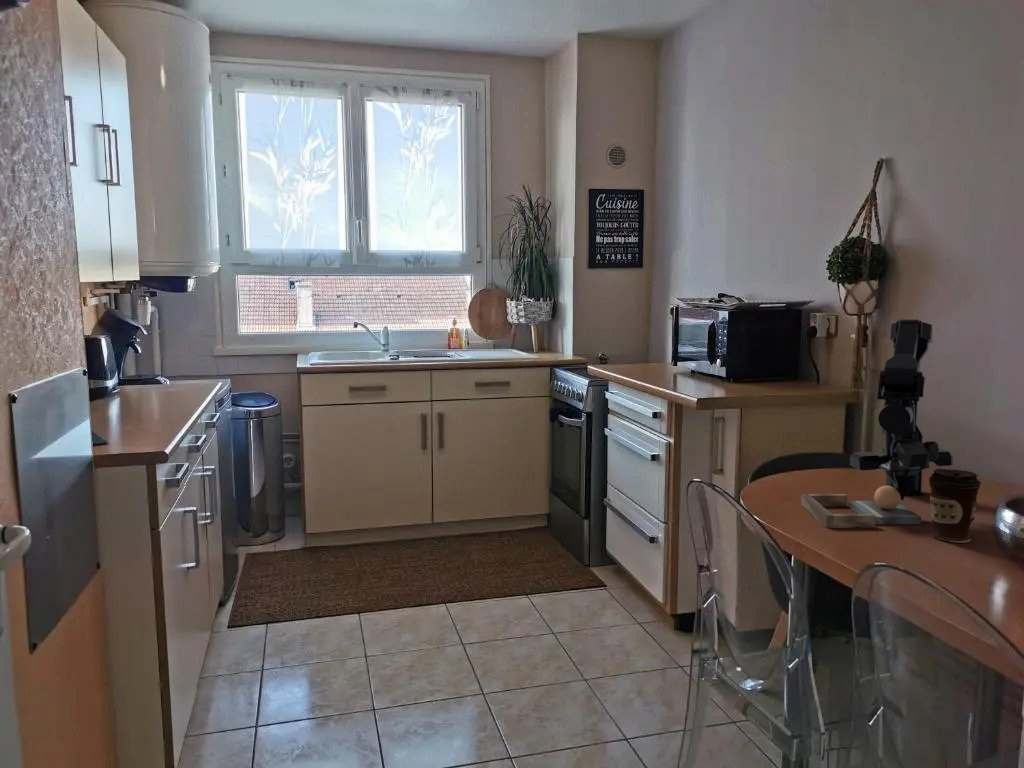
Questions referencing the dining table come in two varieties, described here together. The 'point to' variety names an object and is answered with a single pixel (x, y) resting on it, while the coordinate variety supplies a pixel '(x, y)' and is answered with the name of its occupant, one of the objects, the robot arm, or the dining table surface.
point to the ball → (887, 497)
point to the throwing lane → (865, 512)
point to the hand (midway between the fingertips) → (901, 499)
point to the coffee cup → (953, 503)
